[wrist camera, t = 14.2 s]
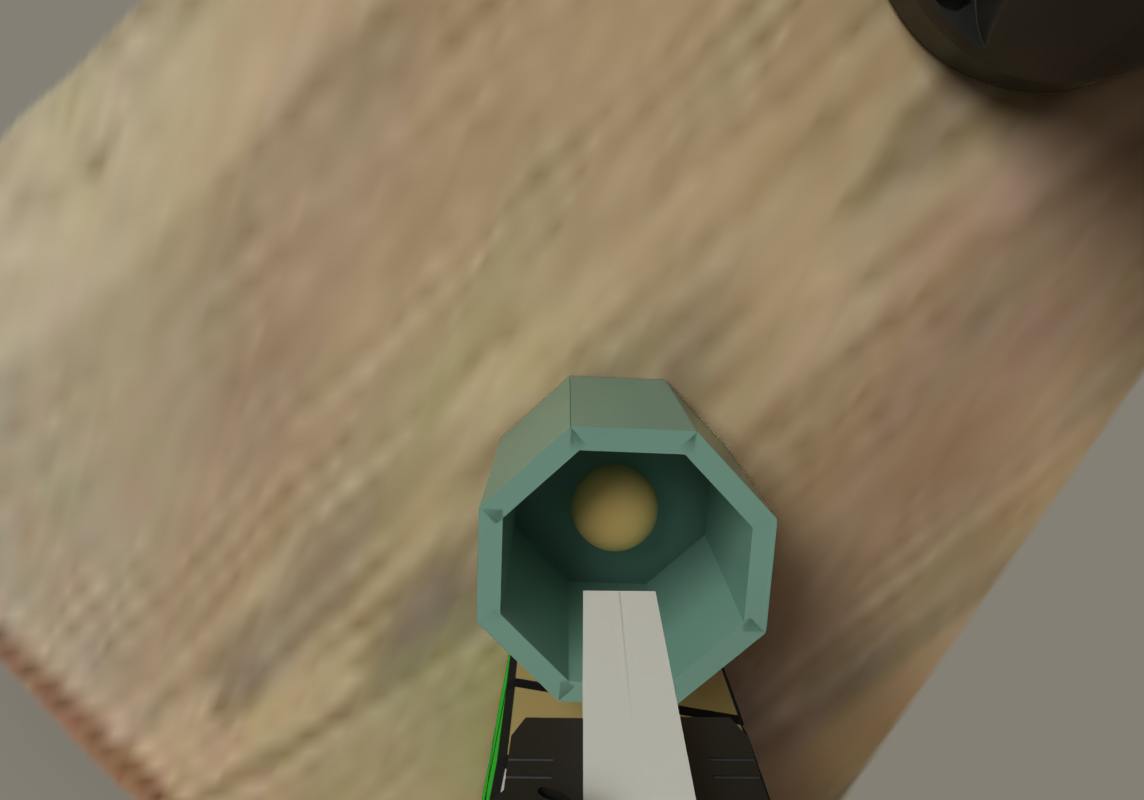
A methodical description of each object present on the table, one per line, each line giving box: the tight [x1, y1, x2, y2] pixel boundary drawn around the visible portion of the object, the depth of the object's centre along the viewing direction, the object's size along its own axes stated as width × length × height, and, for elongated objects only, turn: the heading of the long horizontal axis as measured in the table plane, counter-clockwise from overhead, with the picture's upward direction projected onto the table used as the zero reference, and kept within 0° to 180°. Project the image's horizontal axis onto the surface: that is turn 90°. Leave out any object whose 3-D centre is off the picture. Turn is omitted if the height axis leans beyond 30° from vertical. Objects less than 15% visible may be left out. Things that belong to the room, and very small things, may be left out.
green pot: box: [477, 376, 777, 704], centre depth 32 cm, size 10×10×9 cm
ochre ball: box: [571, 464, 658, 551], centre depth 34 cm, size 4×4×4 cm
